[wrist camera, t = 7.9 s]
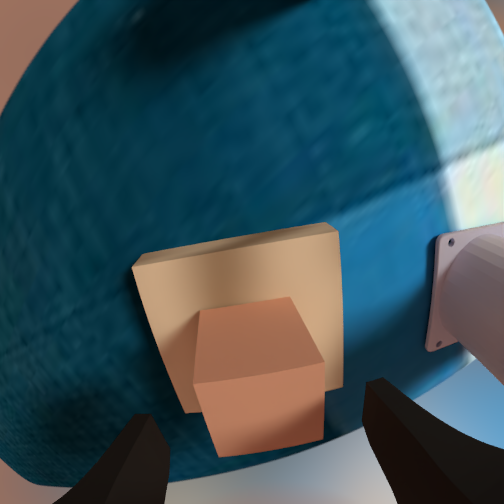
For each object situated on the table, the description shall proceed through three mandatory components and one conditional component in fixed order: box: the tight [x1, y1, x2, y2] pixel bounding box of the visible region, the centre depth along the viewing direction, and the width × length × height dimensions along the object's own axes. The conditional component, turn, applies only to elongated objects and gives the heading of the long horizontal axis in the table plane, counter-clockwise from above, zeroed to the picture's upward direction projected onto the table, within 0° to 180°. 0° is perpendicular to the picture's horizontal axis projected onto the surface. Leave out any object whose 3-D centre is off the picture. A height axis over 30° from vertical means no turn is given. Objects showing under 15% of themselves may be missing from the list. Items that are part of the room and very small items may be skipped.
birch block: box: [132, 222, 343, 413], centre depth 15 cm, size 9×9×2 cm
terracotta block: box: [193, 296, 325, 457], centre depth 11 cm, size 4×4×5 cm
